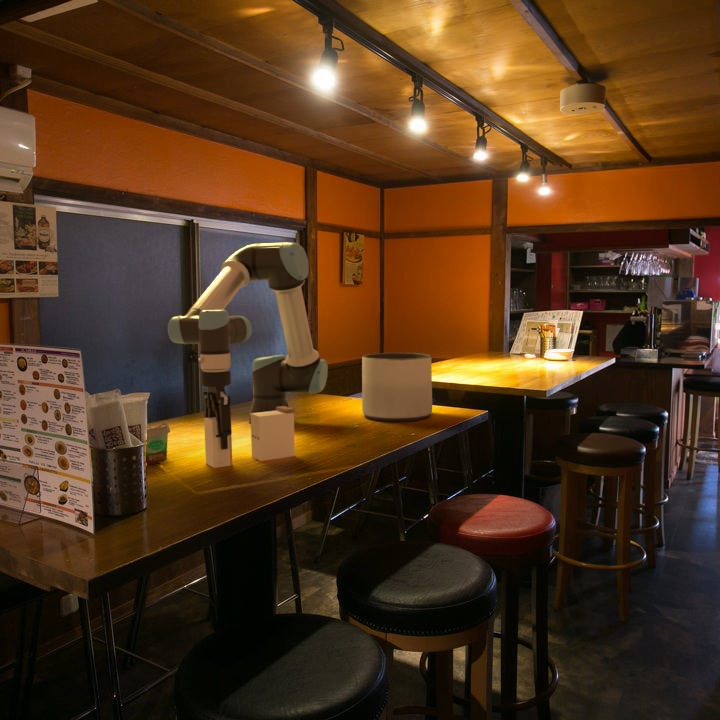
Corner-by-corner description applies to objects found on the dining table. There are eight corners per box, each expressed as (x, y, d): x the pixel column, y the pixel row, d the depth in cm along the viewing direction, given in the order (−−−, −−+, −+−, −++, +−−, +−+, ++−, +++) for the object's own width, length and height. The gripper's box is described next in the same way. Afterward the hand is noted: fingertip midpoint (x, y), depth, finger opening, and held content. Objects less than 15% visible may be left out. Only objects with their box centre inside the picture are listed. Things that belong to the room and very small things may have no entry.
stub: (205, 463, 175) (204, 417, 174) (224, 460, 177) (222, 415, 176) (213, 468, 170) (212, 421, 168) (232, 465, 172) (230, 419, 171)
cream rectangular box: (251, 456, 181) (250, 409, 180) (285, 451, 187) (283, 406, 185) (260, 461, 176) (259, 412, 175) (294, 456, 181) (293, 409, 180)
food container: (145, 469, 172) (143, 431, 171) (129, 466, 175) (127, 429, 174) (181, 459, 182) (179, 423, 181) (165, 456, 186) (164, 421, 185)
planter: (446, 417, 240) (446, 355, 237) (390, 425, 225) (389, 360, 223) (403, 407, 260) (402, 351, 258) (348, 415, 246) (347, 355, 244)
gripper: (189, 367, 177) (193, 453, 179) (214, 374, 161) (217, 468, 163) (216, 366, 181) (219, 449, 183) (243, 372, 165) (246, 464, 167)
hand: (218, 458), depth 173 cm, fingers closed on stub, 6 cm apart
